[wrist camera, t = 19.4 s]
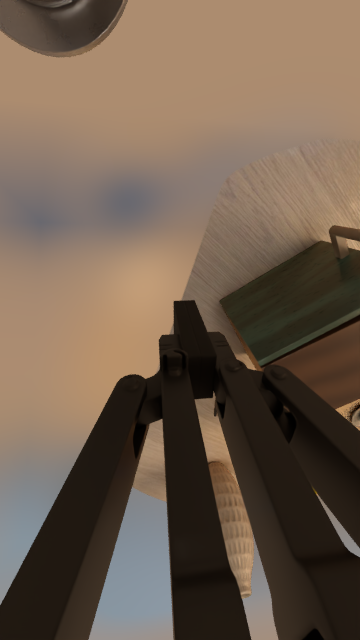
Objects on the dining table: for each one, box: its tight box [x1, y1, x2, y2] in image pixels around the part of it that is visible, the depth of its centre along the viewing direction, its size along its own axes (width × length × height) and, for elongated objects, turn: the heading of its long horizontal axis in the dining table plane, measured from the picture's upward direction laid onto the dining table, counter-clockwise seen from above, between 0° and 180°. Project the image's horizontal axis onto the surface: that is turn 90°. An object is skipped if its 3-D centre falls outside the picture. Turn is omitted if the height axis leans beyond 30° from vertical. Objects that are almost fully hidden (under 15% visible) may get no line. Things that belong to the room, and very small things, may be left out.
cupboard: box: [222, 307, 360, 412], centre depth 42 cm, size 15×22×20 cm
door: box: [219, 225, 360, 366], centre depth 37 cm, size 6×22×20 cm, turn 122°
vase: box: [208, 462, 254, 599], centre depth 65 cm, size 13×13×28 cm
